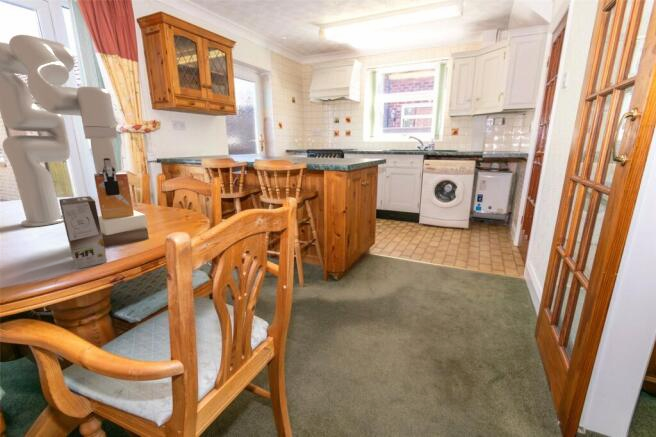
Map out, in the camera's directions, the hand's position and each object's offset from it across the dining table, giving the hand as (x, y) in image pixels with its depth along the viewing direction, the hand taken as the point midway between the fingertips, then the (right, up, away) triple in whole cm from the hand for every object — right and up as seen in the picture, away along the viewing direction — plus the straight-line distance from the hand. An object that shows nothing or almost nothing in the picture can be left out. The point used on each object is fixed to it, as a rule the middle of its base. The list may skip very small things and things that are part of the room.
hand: (111, 192), depth 89 cm
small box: (+1, -7, +2) cm, 7 cm away
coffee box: (+4, -19, -13) cm, 23 cm away
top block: (0, -11, +4) cm, 11 cm away
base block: (+1, -15, +5) cm, 15 cm away
